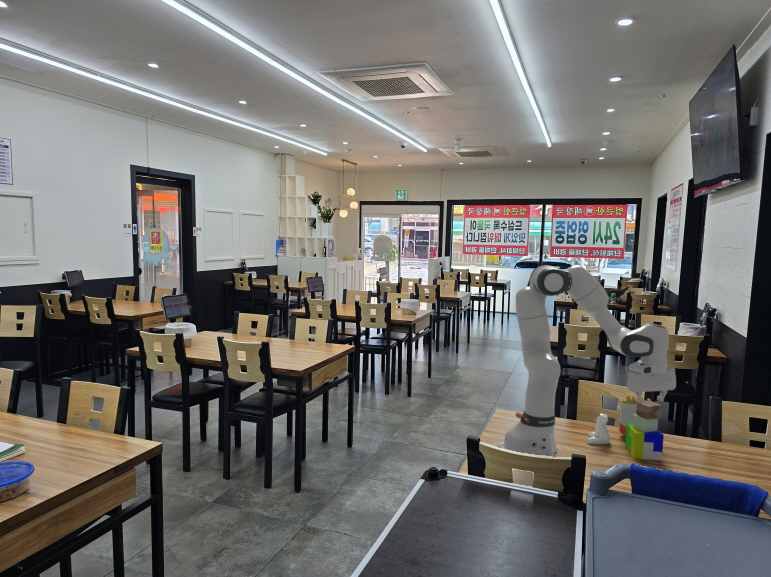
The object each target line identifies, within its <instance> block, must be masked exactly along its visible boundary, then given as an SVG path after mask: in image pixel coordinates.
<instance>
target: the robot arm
mask: <svg viewBox="0 0 771 577" xmlns="http://www.w3.org/2000/svg"><path fill="white" fill-rule="evenodd" d="M526 285H527V286H526V287H522V288H520V289H519V290H518V291H517V292H516V294H515V311H516V317H517V322H518V328H519V334H520V339H521V340H520V341H521V350H522V351H521V352H522V359H523V364H524V367H525V368H526V370H527V372H528V380H527V386H526V389H525V393H524V410H523V412H522V413H521V412H519V411H517V412H515V417H516V418H517V419H519V421H518V422H517V423H515V424H514V425H512V426H511V428H509V429H508V430H507V431H506V433H505V436H504V441H503V440H502V441H501V442H500V441H499V442H498V448H499V447H501V448H505V449H508V450H512V451H516V452H521V453H528V454H535V455H546V456H554V457H555V454H556V453H557V451H558V448H557V442H556V436H555V425H556V414H555V405H556V392H557V388H558V382H559V378H560V376H561V372H562V370H561V369H562V368H561V365H560V363H559V360H558V359H557V358H556V356H554V354H553V352H552V349H551V328H550V324H549V318H548V312H547V308H546V300H547V297H553V296H554V297H555V296H558V295H561V294H563V293H567V294H569V295H570V298H572V300H573V301H574V302H575V303H576V304H577V306H579V307H580V308H581V309H582V310H583V311H585V312H586V313H587V314H588V315H590V316H591V317H592V318H593V319H594V320H595V321H596V322H597V324H598V325H599V327H600V328H601V329H602V331H603V332H604V333H605V335H606V339H607V342H608V345H609V347H610V348H611V349H612V350H614V351H615V352H618V353H619V354H621V355H623V356H626V357H628V358H640V359H638V360H637V361H635V362H632V363H630V364H629V365H628V370H629V371H628V373H627V379H626V388H627V390H628V391H630V392H632V393H635V396H636V400H637V402H638V403H644V400H645V399H644V398H643V396H642V395H643V393H645V392H646V393H647V392H660V393H659V395H657V396H656V400H657V402H660V403H661V402H664V400H665V397H666V395H667V393H668V391H674V390H675V389H676V387H677V376H676V369H675V367H674V366H673V365H668V355H667V353H668V351H669V344H670V342H669V340H670V338H669V337H670V336H669V329H667V327H665V326H663V325H661V324H660V325H659V324H656V323H651V322H648V323H645V324H644V325H642V326H641V327H637V328H636V329H633V330H631V329H630V328H628V327H626V326H624V325H622V324H621V323H620V322H619V321H618V320H617V319H616V317H615V316H614V315H613V314H612V312H611V311H610V310H609V307H608V303H609V298H610V296H609V295H608V293H607V291H606V290H605V288H604V286H602V285H601V283H600V282H599V281H598V279H597V278H596V277H595V276H593V274H592V273H591V272H589V270H587V269H585V267H583V266H582V265H578V264H576V265H575V264H574V265H572V266H569V267H568V268H566V269H565V270H563V269H561V268H558V267H556V266H553V265H549V264H543V265H538V266H537V267H535V268H534V269H533V270H532V271H531V274H530V276H529V280H528V282H527V284H526Z"/></svg>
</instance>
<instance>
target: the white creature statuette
mask: <svg viewBox="0 0 771 577" xmlns="http://www.w3.org/2000/svg"><path fill="white" fill-rule="evenodd" d="M608 421H609V417H608V414H605V413H600V414H599V415H598V416H597V417H596V420H595V422H596V426H595V428H594V431H592V432H589V433H588V438H587V439H586V442H587V444H589V445H608V444H610V442H611V440H612V436H611V434H610V432H608V427H607V423H608Z"/></svg>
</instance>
